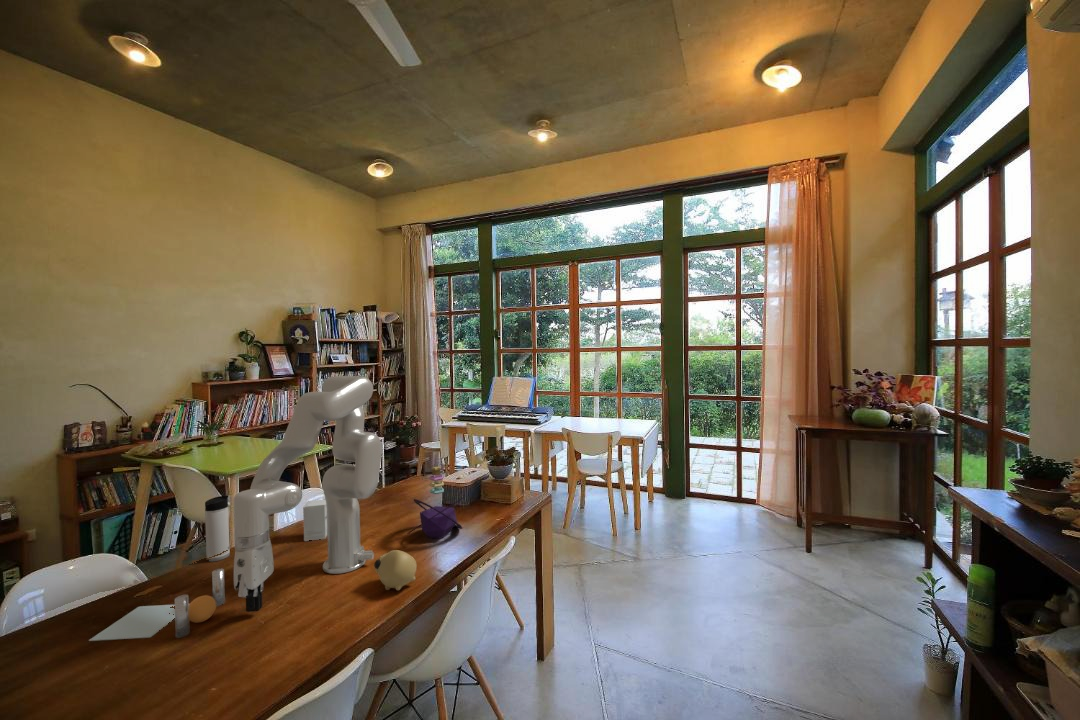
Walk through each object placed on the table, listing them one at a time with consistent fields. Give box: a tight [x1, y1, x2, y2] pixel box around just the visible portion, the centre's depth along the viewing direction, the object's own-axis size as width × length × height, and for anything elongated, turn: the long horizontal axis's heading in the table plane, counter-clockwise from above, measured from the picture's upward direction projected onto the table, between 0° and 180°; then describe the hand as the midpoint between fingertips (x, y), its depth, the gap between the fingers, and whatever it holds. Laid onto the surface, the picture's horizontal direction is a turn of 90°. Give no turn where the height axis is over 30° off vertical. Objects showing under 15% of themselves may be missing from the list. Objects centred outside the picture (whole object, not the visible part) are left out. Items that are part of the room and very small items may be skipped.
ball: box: [189, 594, 217, 624], centre depth 112 cm, size 6×6×6 cm
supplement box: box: [302, 499, 327, 542], centre depth 163 cm, size 7×7×13 cm
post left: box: [174, 594, 191, 639], centre depth 106 cm, size 3×3×9 cm
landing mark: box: [88, 604, 175, 642], centre depth 112 cm, size 14×14×1 cm
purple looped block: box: [406, 466, 467, 539], centre depth 161 cm, size 22×21×25 cm
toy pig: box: [373, 549, 417, 591], centre depth 126 cm, size 10×12×11 cm
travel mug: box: [204, 494, 231, 562], centre depth 147 cm, size 6×7×20 cm
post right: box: [211, 568, 226, 607], centre depth 119 cm, size 3×3×9 cm
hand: (254, 609), depth 113 cm, fingers closed
